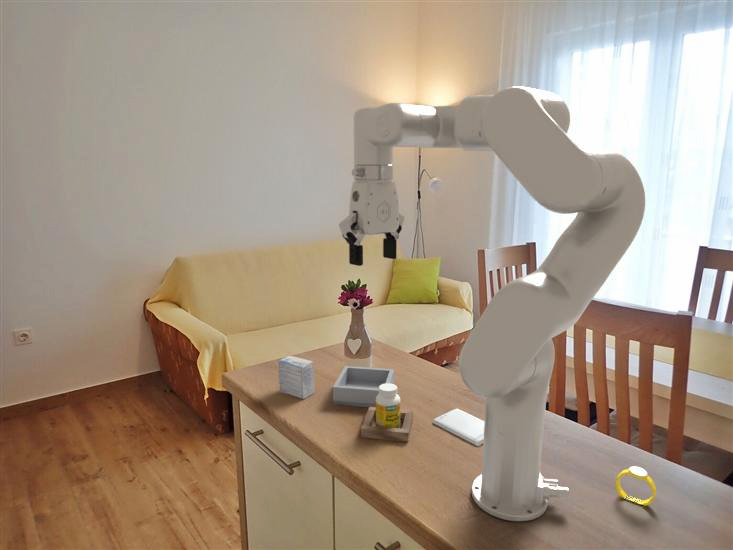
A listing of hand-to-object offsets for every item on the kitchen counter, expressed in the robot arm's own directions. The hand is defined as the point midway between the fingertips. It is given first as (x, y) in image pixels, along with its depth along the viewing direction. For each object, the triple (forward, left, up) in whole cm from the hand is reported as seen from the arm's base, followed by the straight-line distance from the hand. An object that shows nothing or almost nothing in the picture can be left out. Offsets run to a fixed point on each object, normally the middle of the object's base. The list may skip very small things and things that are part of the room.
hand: (373, 261), depth 103 cm
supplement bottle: (-3, -2, -38) cm, 38 cm away
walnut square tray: (-3, -2, -37) cm, 37 cm away
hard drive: (-20, -5, -38) cm, 43 cm away
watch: (-48, +15, -38) cm, 63 cm away
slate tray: (+5, -17, -37) cm, 41 cm away
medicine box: (+22, -15, -38) cm, 46 cm away
